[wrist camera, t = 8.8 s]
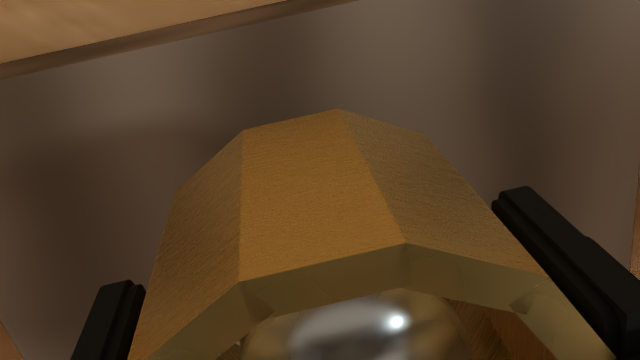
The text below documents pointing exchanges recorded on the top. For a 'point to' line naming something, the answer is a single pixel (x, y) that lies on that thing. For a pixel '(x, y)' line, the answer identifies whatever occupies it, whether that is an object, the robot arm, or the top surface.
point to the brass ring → (343, 244)
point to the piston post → (364, 331)
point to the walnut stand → (295, 101)
